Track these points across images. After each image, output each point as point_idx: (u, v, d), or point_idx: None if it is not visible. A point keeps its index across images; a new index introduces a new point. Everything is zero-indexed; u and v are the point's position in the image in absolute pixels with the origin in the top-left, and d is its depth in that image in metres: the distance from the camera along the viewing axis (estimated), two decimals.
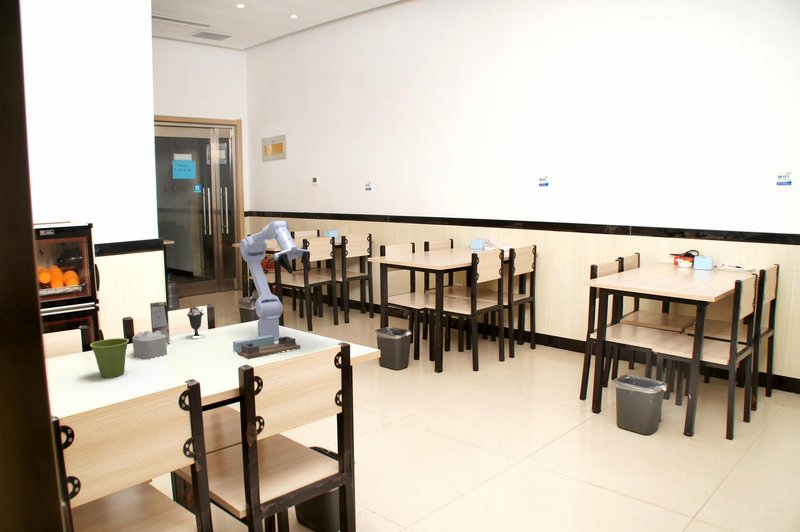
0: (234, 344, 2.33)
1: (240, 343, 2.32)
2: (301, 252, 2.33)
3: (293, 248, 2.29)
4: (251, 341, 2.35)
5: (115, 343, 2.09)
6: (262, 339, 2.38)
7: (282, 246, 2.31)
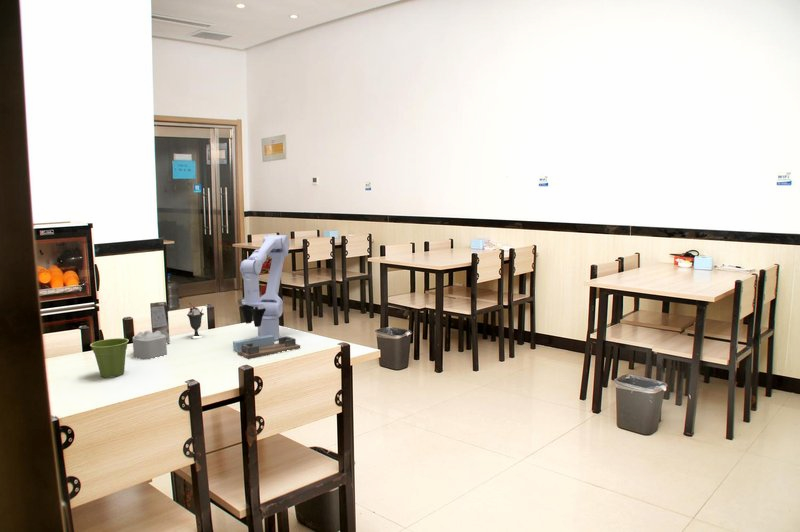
0: (234, 344, 2.33)
1: (240, 343, 2.32)
2: None
3: None
4: (251, 341, 2.35)
5: (115, 343, 2.09)
6: (262, 339, 2.38)
7: None
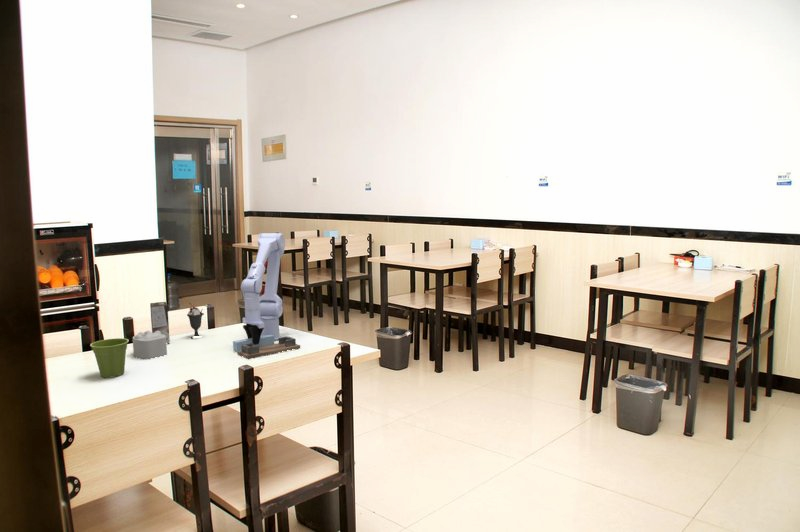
0: (234, 344, 2.33)
1: (240, 343, 2.32)
2: None
3: None
4: (251, 341, 2.35)
5: (115, 343, 2.09)
6: (262, 339, 2.38)
7: None
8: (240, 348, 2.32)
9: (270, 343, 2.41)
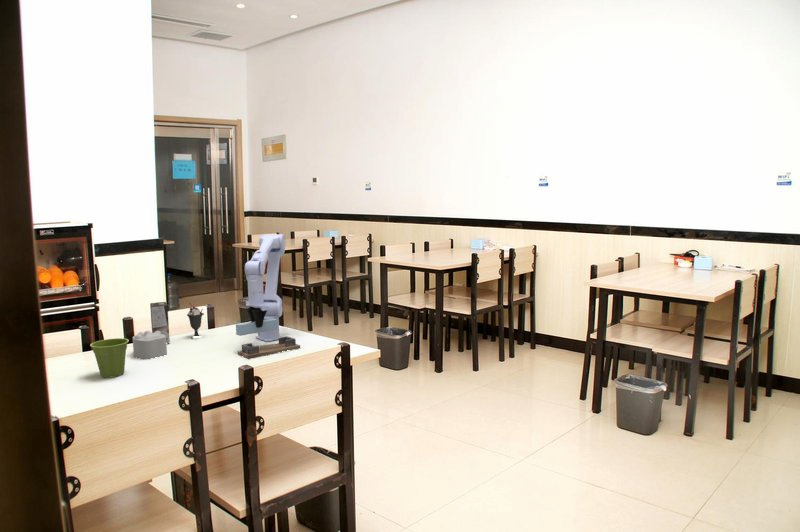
0: (237, 327, 2.30)
1: (243, 326, 2.30)
2: (258, 306, 2.31)
3: None
4: (254, 324, 2.33)
5: (115, 343, 2.09)
6: (265, 322, 2.36)
7: None
8: (243, 331, 2.30)
9: (273, 327, 2.38)
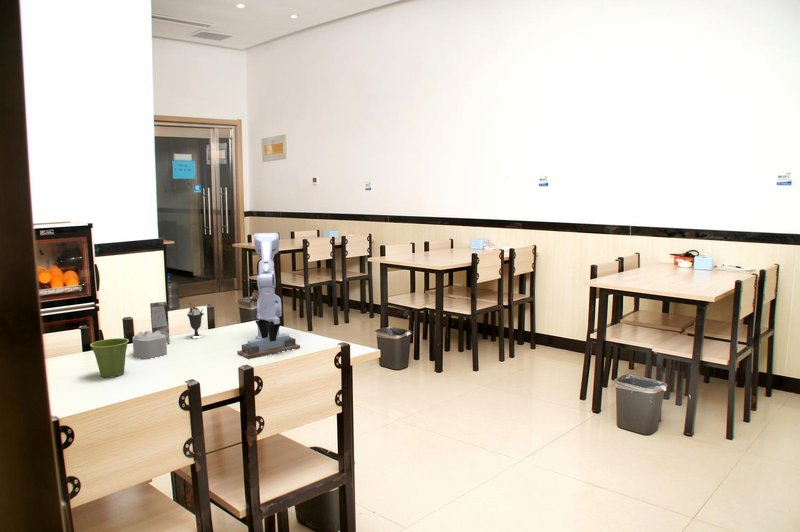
0: (249, 343, 2.27)
1: (255, 342, 2.27)
2: (270, 319, 2.28)
3: None
4: (266, 340, 2.30)
5: (115, 343, 2.09)
6: (277, 338, 2.33)
7: None
8: None
9: None
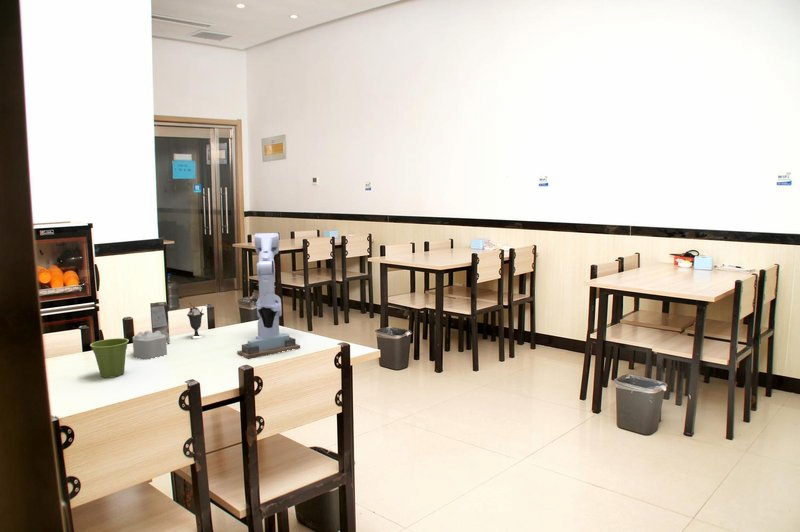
0: (249, 343, 2.27)
1: (255, 342, 2.27)
2: None
3: None
4: (266, 340, 2.30)
5: (115, 343, 2.09)
6: (277, 338, 2.33)
7: None
8: None
9: None
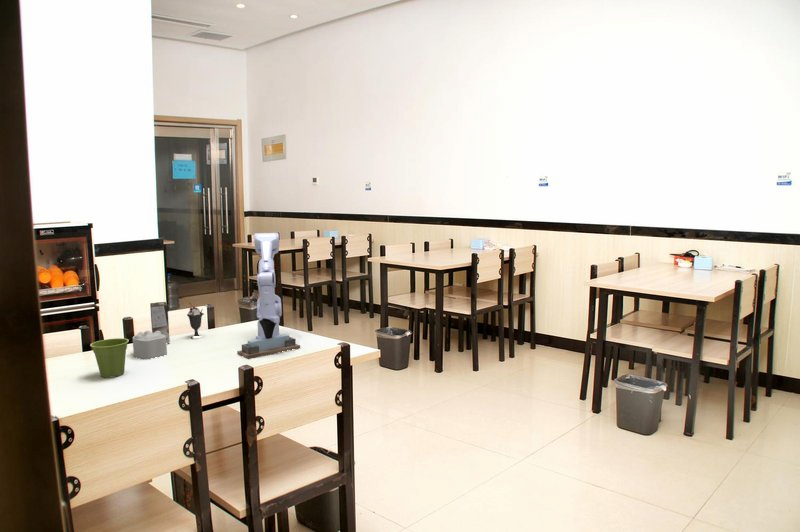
0: (249, 343, 2.27)
1: (255, 342, 2.27)
2: (270, 318, 2.28)
3: None
4: (266, 340, 2.30)
5: (115, 343, 2.09)
6: (277, 338, 2.33)
7: None
8: None
9: None
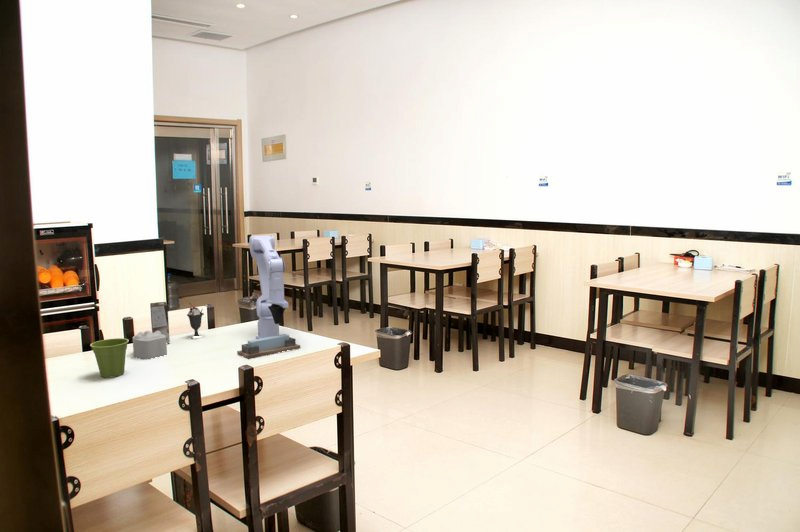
0: (249, 343, 2.27)
1: (255, 342, 2.27)
2: (279, 304, 2.34)
3: None
4: (266, 340, 2.30)
5: (115, 343, 2.09)
6: (277, 338, 2.33)
7: None
8: None
9: None
